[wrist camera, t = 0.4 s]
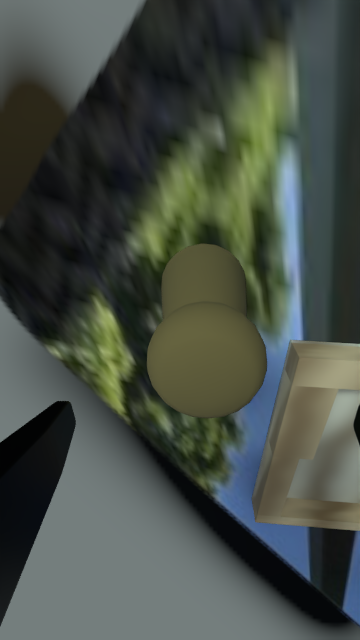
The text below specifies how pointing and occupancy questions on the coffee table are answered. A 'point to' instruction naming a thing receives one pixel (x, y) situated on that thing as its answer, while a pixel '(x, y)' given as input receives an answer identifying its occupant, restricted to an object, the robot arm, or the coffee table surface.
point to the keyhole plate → (313, 441)
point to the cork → (205, 336)
